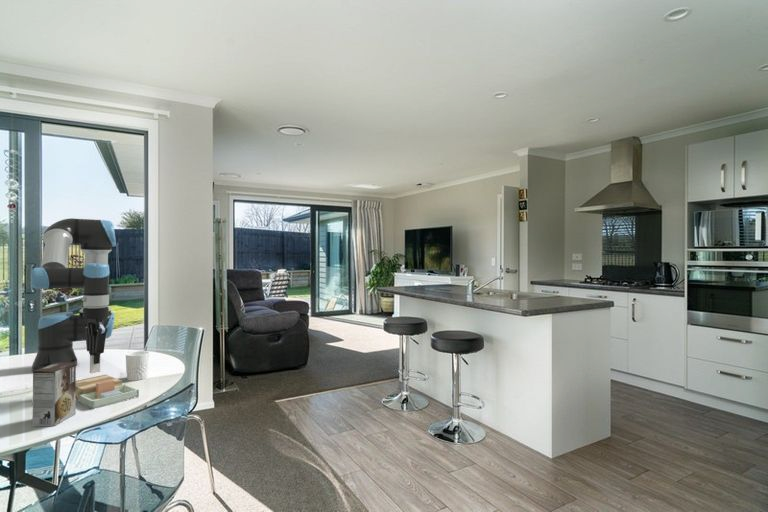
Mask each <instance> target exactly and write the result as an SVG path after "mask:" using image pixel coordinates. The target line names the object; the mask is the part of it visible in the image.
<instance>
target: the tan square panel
mask: <svg viewBox="0 0 768 512" xmlns="http://www.w3.org/2000/svg"><path fill="white" fill-rule="evenodd" d="M107 380H115V387H116V386H120V385H123V380H120V379H118V378H116V377H113V376H110V375H108V374H101V375H98V376H93V377H92V376H91V377H87V378H84V379H83V378H82V379H79V380H77V379H76V399H77V400H78V401H79V395H82V394H86V393H91V392H95V391H96V383H98V382H103V381H107Z"/></svg>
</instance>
